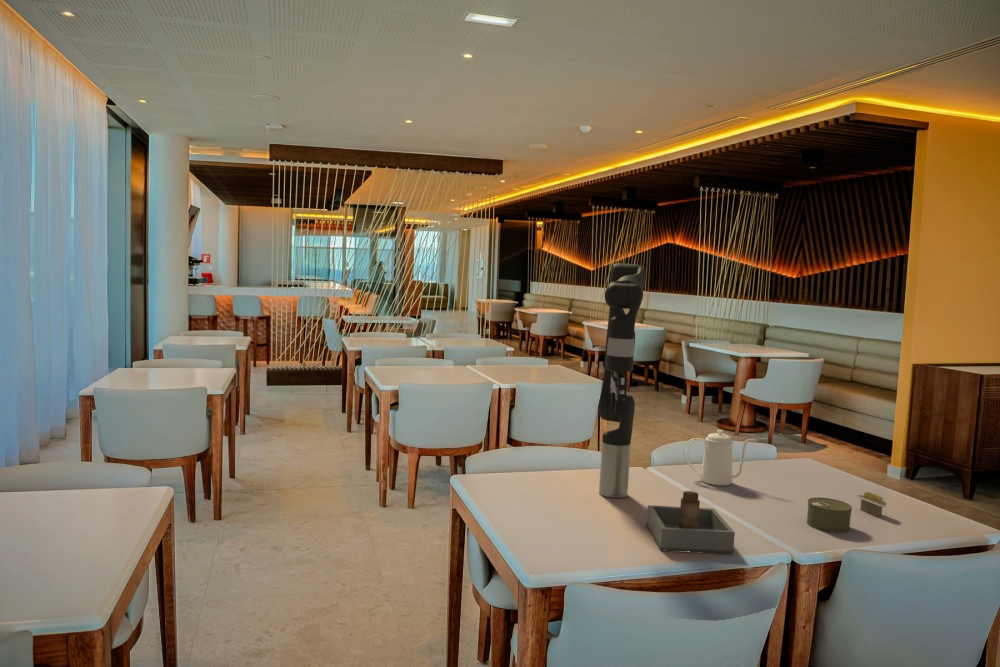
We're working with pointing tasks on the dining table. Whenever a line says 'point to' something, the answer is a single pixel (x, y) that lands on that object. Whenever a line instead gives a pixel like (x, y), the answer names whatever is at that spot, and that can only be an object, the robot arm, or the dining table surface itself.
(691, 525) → the pepper mill
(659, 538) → the serving bin
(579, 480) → the dining table surface
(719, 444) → the coffeepot
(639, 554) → the dining table surface
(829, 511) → the can
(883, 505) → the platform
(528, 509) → the dining table surface
